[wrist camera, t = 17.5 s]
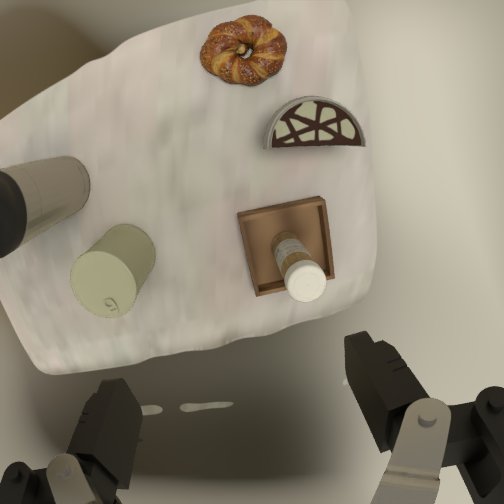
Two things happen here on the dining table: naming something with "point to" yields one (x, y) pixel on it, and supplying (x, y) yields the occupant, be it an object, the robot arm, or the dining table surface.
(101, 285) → the can
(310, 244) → the box
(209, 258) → the dining table surface
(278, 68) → the pretzel
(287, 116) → the food container
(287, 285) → the sprinkles bottle
